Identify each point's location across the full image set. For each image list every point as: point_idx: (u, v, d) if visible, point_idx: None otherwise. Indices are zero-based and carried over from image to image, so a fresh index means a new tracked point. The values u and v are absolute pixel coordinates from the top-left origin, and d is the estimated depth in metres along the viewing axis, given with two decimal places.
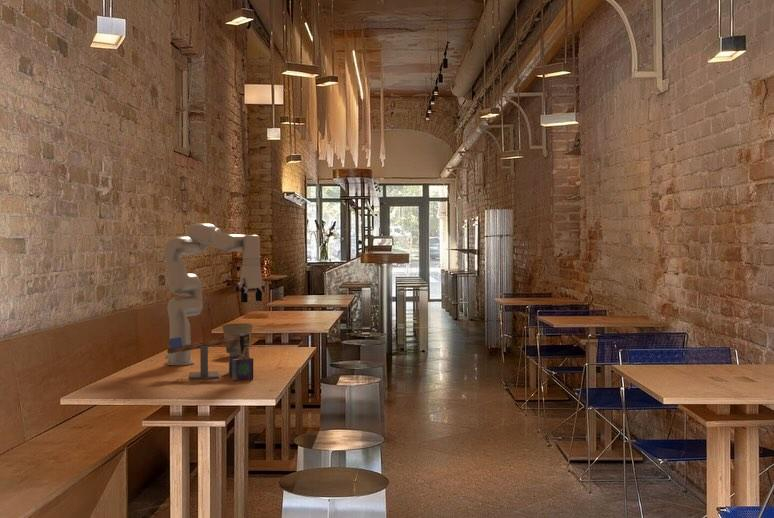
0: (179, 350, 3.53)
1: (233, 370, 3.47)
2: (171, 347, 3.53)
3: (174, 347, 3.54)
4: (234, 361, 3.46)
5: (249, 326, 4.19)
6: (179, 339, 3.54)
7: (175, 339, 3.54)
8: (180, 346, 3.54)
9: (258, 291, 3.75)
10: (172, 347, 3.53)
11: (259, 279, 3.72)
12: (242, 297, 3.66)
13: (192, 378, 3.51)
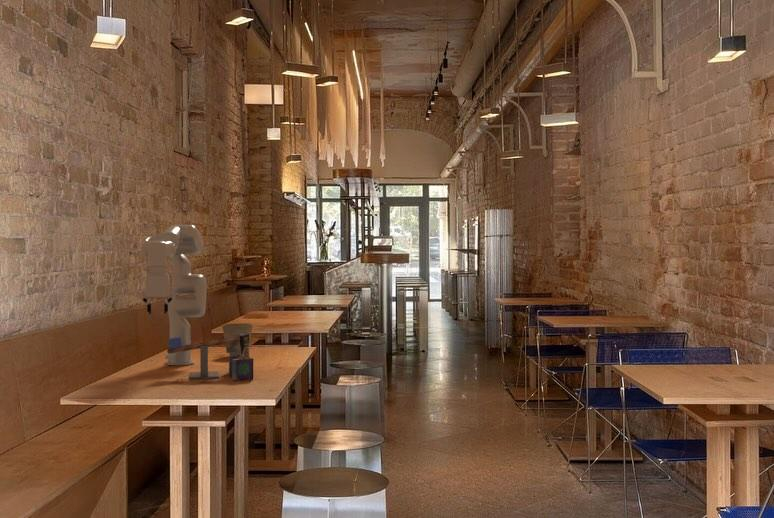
0: (179, 350, 3.53)
1: (233, 370, 3.47)
2: (170, 347, 3.53)
3: (173, 347, 3.53)
4: (234, 361, 3.46)
5: (249, 326, 4.19)
6: (178, 339, 3.54)
7: (174, 339, 3.53)
8: (179, 346, 3.54)
9: None
10: (171, 347, 3.53)
11: None
12: (167, 308, 3.55)
13: (192, 378, 3.51)
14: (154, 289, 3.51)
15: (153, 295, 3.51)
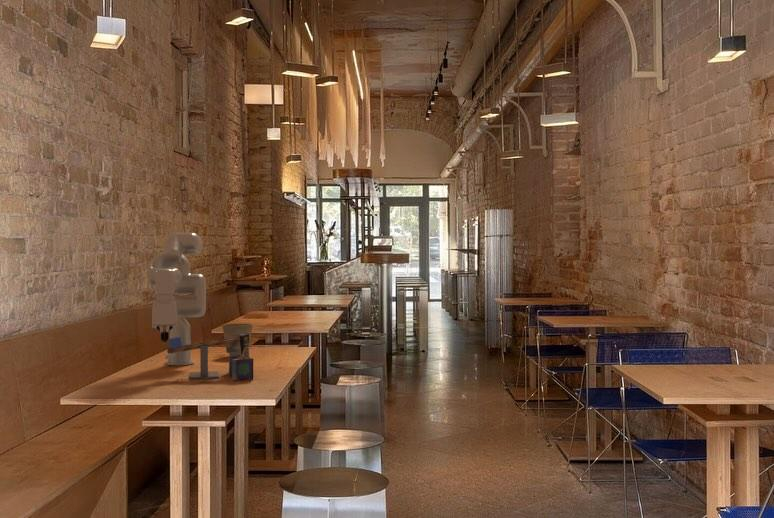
0: (179, 350, 3.53)
1: (233, 370, 3.47)
2: (171, 347, 3.53)
3: (174, 347, 3.53)
4: (234, 361, 3.46)
5: (249, 326, 4.19)
6: (179, 339, 3.54)
7: (175, 339, 3.53)
8: (180, 346, 3.54)
9: None
10: (172, 347, 3.53)
11: None
12: None
13: (192, 378, 3.51)
14: (161, 317, 3.52)
15: (160, 323, 3.51)
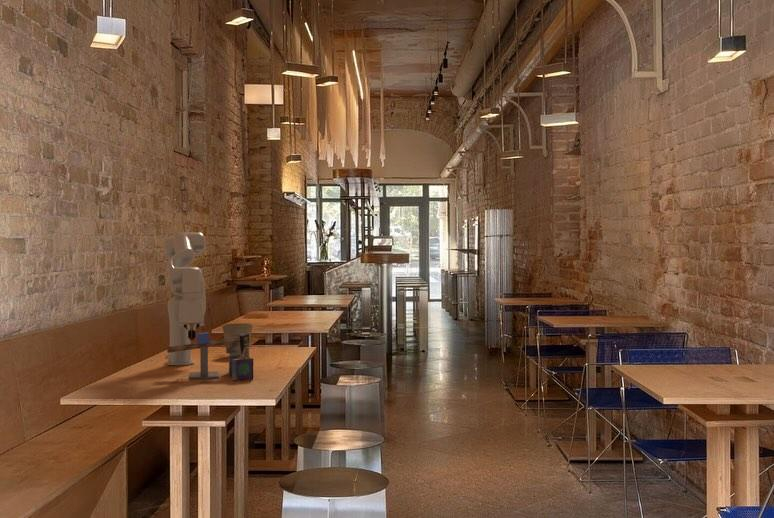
0: (179, 349, 3.53)
1: (233, 370, 3.47)
2: (198, 342, 3.55)
3: (201, 343, 3.55)
4: (234, 361, 3.46)
5: (249, 326, 4.19)
6: (206, 335, 3.56)
7: (202, 335, 3.55)
8: (207, 342, 3.56)
9: None
10: (199, 342, 3.55)
11: None
12: None
13: (192, 378, 3.51)
14: (188, 315, 3.54)
15: (187, 321, 3.54)
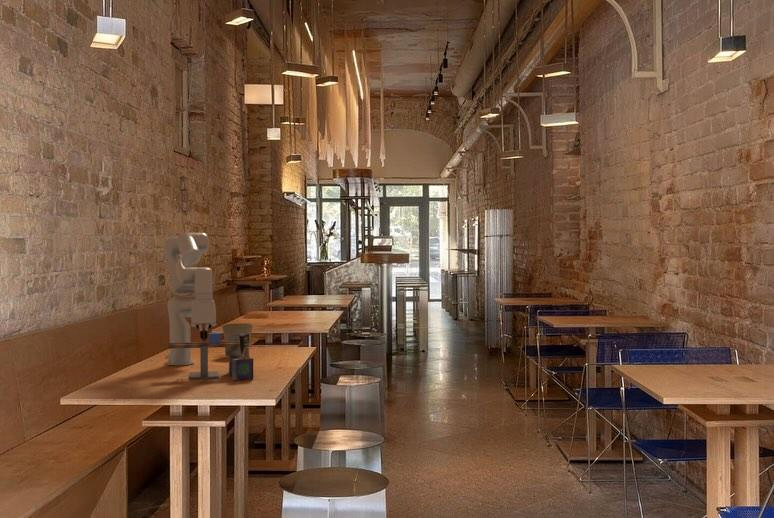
0: (179, 346, 3.53)
1: (233, 370, 3.47)
2: (210, 342, 3.56)
3: (213, 342, 3.57)
4: (234, 361, 3.46)
5: (249, 326, 4.19)
6: (219, 335, 3.57)
7: (215, 334, 3.57)
8: (219, 342, 3.57)
9: None
10: (211, 342, 3.56)
11: None
12: None
13: (192, 378, 3.51)
14: (201, 315, 3.55)
15: (199, 322, 3.55)
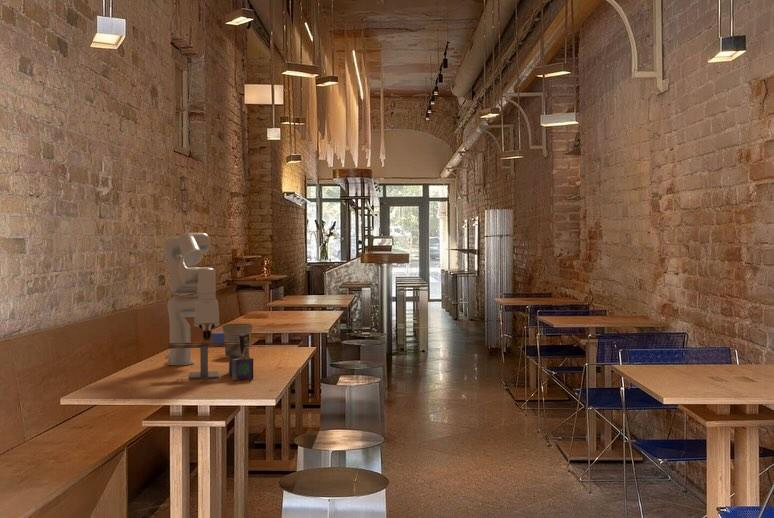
0: (179, 346, 3.53)
1: (233, 370, 3.47)
2: (213, 342, 3.57)
3: (216, 342, 3.57)
4: (234, 361, 3.46)
5: (249, 326, 4.19)
6: (222, 335, 3.57)
7: (218, 334, 3.57)
8: (222, 342, 3.57)
9: None
10: (214, 342, 3.57)
11: None
12: None
13: (192, 378, 3.51)
14: (204, 315, 3.55)
15: (203, 322, 3.55)
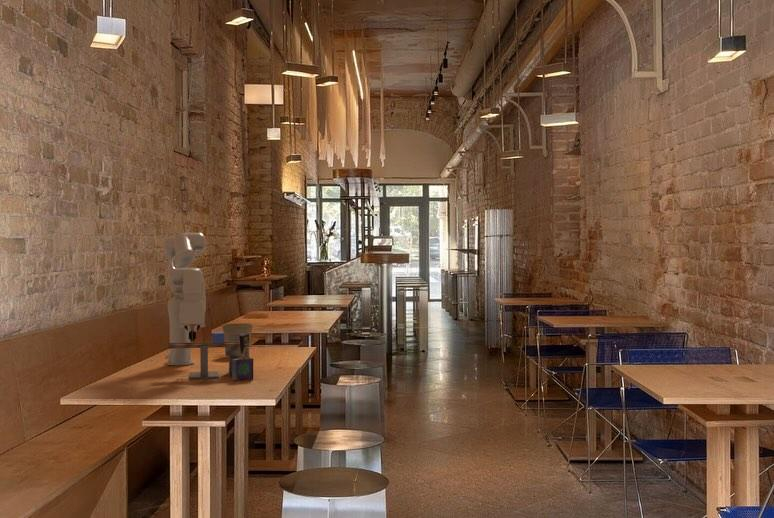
0: (179, 346, 3.53)
1: (233, 370, 3.47)
2: (213, 342, 3.57)
3: (216, 342, 3.57)
4: (234, 361, 3.46)
5: (249, 326, 4.19)
6: (222, 335, 3.57)
7: (218, 334, 3.57)
8: (222, 342, 3.57)
9: None
10: (214, 342, 3.57)
11: None
12: (195, 335, 3.57)
13: (192, 378, 3.51)
14: (189, 316, 3.54)
15: (188, 323, 3.54)
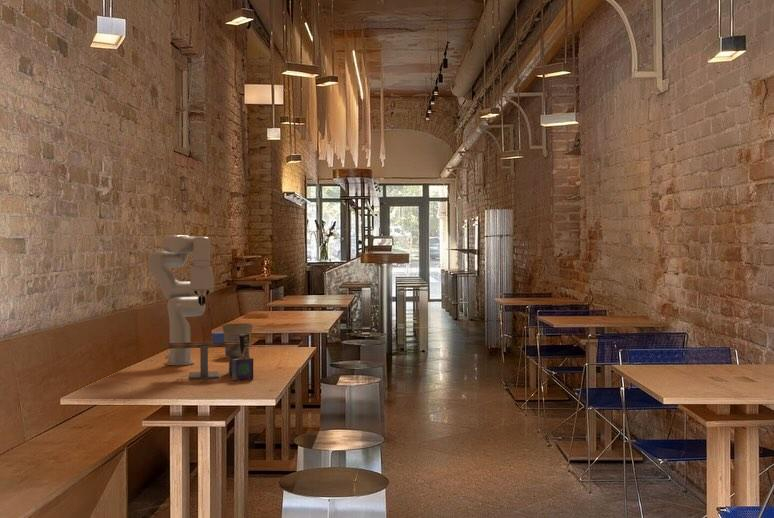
0: (179, 346, 3.53)
1: (233, 370, 3.47)
2: (213, 342, 3.57)
3: (216, 342, 3.57)
4: (234, 361, 3.46)
5: (249, 326, 4.19)
6: (222, 335, 3.57)
7: (218, 334, 3.57)
8: (222, 342, 3.57)
9: None
10: (214, 342, 3.57)
11: None
12: None
13: (192, 378, 3.51)
14: (199, 282, 3.73)
15: (198, 288, 3.73)
